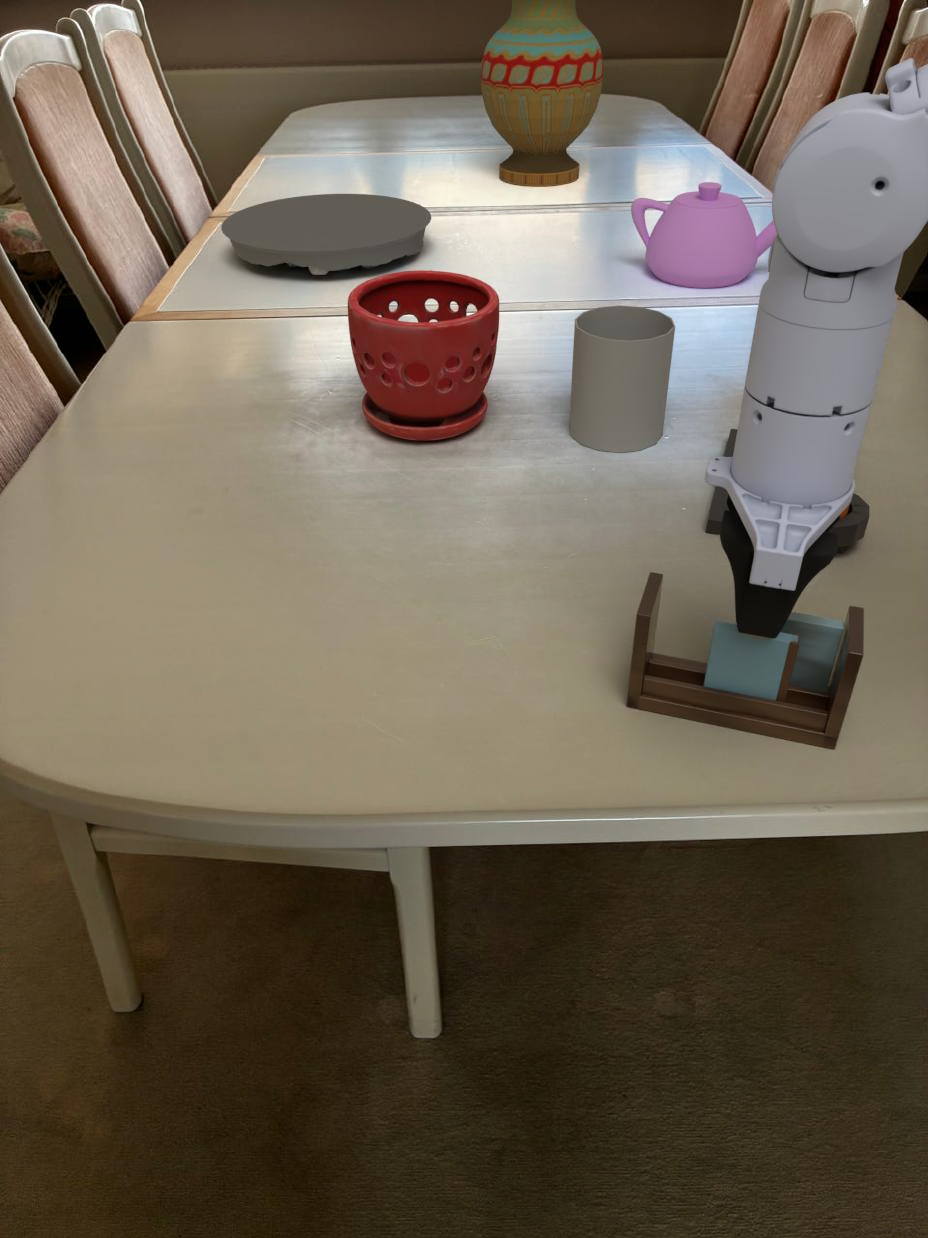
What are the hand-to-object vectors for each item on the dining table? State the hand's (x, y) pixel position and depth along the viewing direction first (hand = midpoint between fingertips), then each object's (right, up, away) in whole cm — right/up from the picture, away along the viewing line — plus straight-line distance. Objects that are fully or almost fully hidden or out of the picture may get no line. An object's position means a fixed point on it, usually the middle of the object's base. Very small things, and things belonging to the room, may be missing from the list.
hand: (758, 623), depth 53 cm
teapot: (+14, +44, +69) cm, 83 cm away
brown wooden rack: (0, -5, +5) cm, 7 cm away
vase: (-3, +76, +112) cm, 135 cm away
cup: (-2, +17, +34) cm, 38 cm away
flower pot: (-20, +18, +37) cm, 45 cm away
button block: (+9, +11, +25) cm, 29 cm away
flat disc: (-35, +50, +79) cm, 99 cm away
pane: (0, -4, +3) cm, 6 cm away
